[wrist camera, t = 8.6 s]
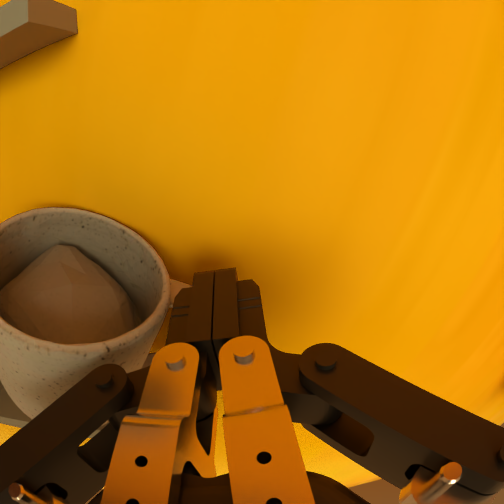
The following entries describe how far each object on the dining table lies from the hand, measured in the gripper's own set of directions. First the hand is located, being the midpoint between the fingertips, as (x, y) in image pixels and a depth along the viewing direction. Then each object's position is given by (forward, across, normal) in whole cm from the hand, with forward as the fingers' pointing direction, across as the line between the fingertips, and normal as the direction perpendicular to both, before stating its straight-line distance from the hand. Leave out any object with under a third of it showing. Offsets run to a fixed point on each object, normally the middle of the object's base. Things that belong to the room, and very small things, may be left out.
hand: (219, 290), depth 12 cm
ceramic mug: (+3, +6, +1) cm, 7 cm away
